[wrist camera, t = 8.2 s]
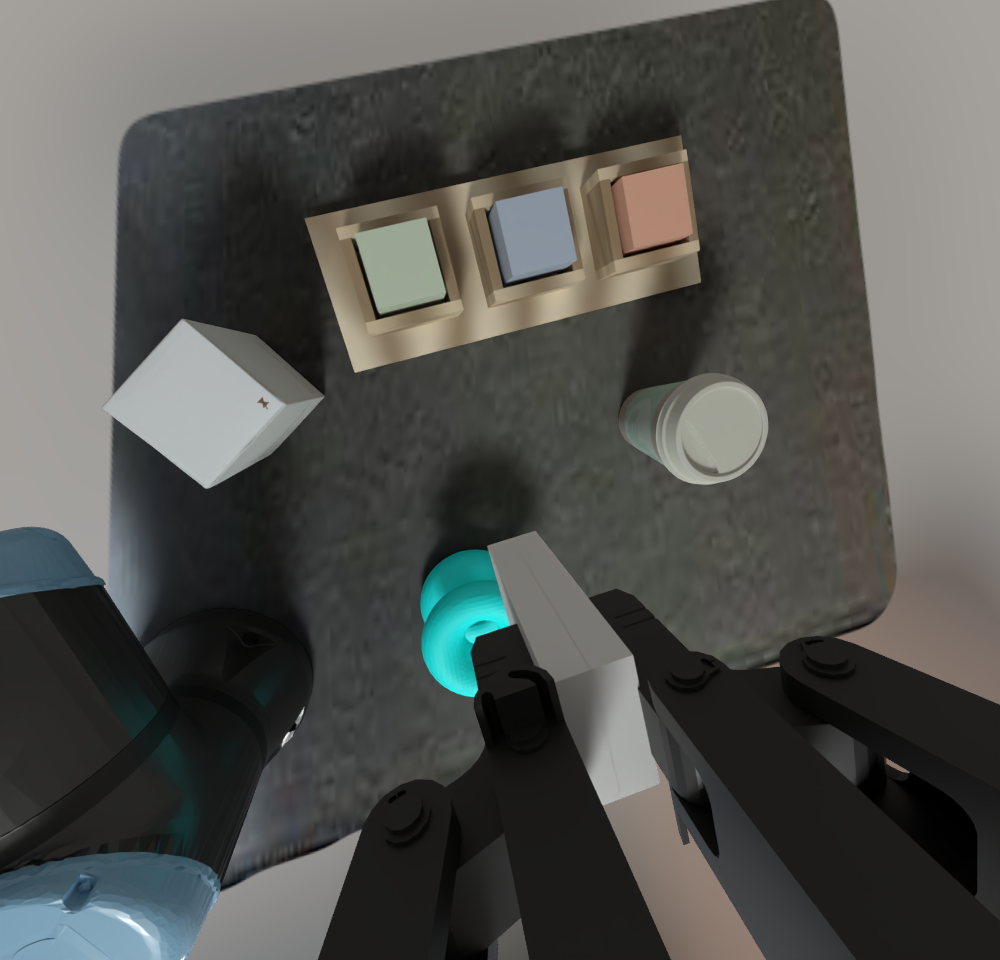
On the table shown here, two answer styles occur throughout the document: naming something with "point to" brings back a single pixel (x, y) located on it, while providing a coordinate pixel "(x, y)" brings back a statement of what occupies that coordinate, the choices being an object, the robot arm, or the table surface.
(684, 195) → the terracotta button
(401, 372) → the table surface
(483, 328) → the button panel
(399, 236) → the sage button
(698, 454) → the coffee cup
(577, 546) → the table surface
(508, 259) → the slate button
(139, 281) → the table surface
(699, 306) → the table surface
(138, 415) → the supplement box
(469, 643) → the donuts
